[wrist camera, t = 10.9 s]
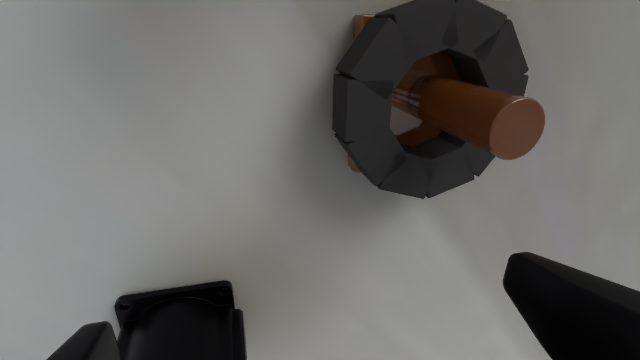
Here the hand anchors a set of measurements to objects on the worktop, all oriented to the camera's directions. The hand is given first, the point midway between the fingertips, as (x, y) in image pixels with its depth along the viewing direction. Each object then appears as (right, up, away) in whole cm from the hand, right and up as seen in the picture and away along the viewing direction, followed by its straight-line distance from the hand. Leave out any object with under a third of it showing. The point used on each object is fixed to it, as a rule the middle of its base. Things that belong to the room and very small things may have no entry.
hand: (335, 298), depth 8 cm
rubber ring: (+5, +7, +11) cm, 14 cm away
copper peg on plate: (+5, +8, +12) cm, 15 cm away
